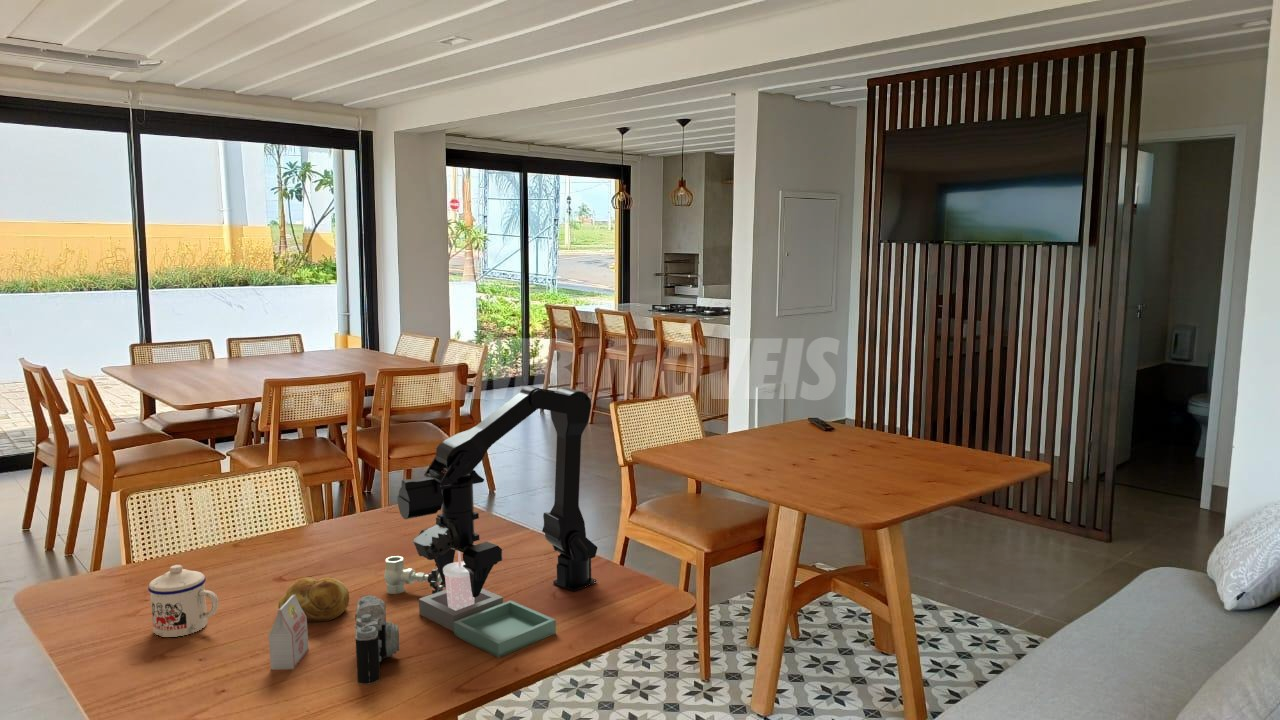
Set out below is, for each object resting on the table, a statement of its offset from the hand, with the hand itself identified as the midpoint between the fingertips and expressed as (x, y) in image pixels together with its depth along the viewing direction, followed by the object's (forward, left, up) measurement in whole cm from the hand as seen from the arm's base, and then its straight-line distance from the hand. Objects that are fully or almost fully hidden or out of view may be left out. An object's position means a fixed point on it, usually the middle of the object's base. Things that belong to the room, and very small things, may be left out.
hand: (460, 590), depth 164 cm
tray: (0, +13, -4) cm, 14 cm away
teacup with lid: (+37, -31, -5) cm, 48 cm away
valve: (0, -15, -5) cm, 16 cm away
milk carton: (+30, -6, -5) cm, 31 cm away
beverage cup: (0, 0, -5) cm, 5 cm away
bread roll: (+19, -20, -5) cm, 28 cm away
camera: (+21, +6, -5) cm, 22 cm away
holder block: (0, 0, -4) cm, 4 cm away
